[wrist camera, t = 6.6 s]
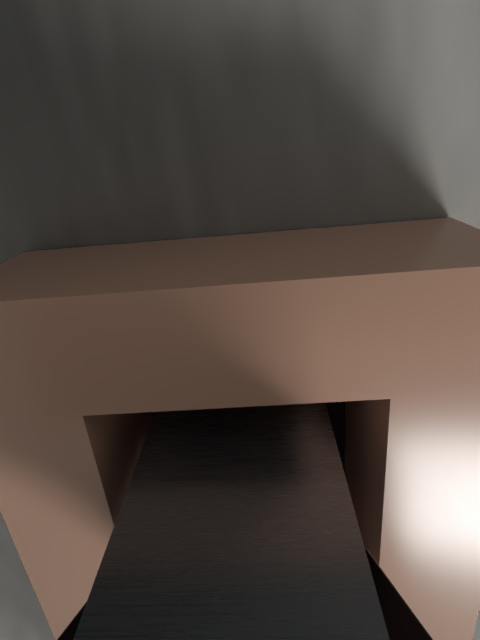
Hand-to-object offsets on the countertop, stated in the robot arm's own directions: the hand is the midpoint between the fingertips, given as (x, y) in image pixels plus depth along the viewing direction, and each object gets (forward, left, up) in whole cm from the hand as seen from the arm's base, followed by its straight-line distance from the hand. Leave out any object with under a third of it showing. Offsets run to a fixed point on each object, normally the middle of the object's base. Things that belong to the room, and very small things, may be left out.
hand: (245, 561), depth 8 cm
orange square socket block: (0, 0, -5) cm, 5 cm away
